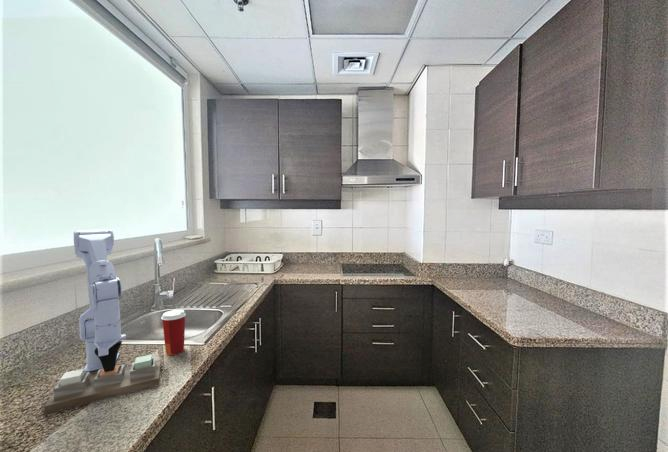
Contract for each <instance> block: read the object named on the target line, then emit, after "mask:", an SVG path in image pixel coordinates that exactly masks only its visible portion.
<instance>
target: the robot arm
mask: <svg viewBox="0 0 668 452" xmlns="http://www.w3.org/2000/svg"><path fill="white" fill-rule="evenodd" d="M114 237H115V236H114V232H113V230H112V229H111V228H107V229H92V230H91V229H90V230H85V229H84V230H78V229H77V230H75V231H74V232H73V247H74V254H75V255H76V256H75V257H77V258H80V259H82V260H83V262H84V264H85V266H86V267H85V268H86V279H87V280H86V281H87V291H88V292H87V293H88V304H89V308H88V309H87V310H85V311H84V312H83V313H82V314H81V315H80V317H79V319H78V320H79V321H78V322H79V323H78V331H79V332H78V333H79V339H80V340H81V341H82V342H84V341H85V353H86V357H85V359H86V364H85V366H84V368H83V369H84V373H85V372H93V371H97V370H99V369H104V371H105V372H108V371H113V370H114V368H115V366H117V365H116V364H117V361H118V359H119V355H120V353H119V350H120V348H121V345H122V344H123V343H122V342H123V341H122V340H124V339H126V338H127V334H126V333H123V334H122V332H121V328H122V327H121V308H120V305H121V304H120V299H121V298H122V293H123V291H122V290H123V289H122V288H123V287H122V283H121V280H120V278H119V276H117V275H116V271H115V266H114V264H113V262H111V261H109V260H108V256H109V255H111V254H112V251H113V247H114V245H115V244H114V243H115V239H114Z"/></svg>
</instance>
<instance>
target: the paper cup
mask: <svg viewBox="0 0 668 452" xmlns="http://www.w3.org/2000/svg"><path fill="white" fill-rule="evenodd" d="M186 316H187V314H186V312H185V310H184V309H173V310H168V311H165V312H163V313H162V316H161V318H160V319H161V320H162V331H163V339H164V340H163V341H164V349H165V354H166V355H167V356H174V355H179V354H180V353H181V354H182V353H183V352H184V351H185V350H184V349H185V330H186V329H185V327H186Z"/></svg>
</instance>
